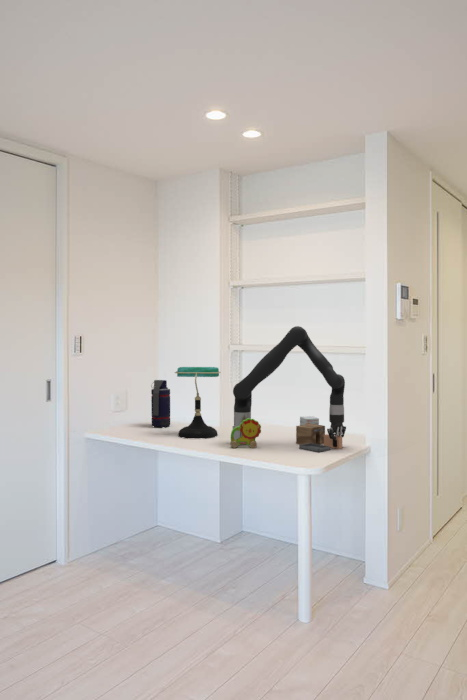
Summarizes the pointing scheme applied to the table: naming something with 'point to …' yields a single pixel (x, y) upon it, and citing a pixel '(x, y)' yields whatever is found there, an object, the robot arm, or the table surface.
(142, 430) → the table surface
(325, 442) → the tan rectangular block
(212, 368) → the banker's lamp
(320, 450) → the tray
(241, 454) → the table surface
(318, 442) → the cardboard shipping carton
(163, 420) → the grenade
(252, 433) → the toy lion
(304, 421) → the ink box
